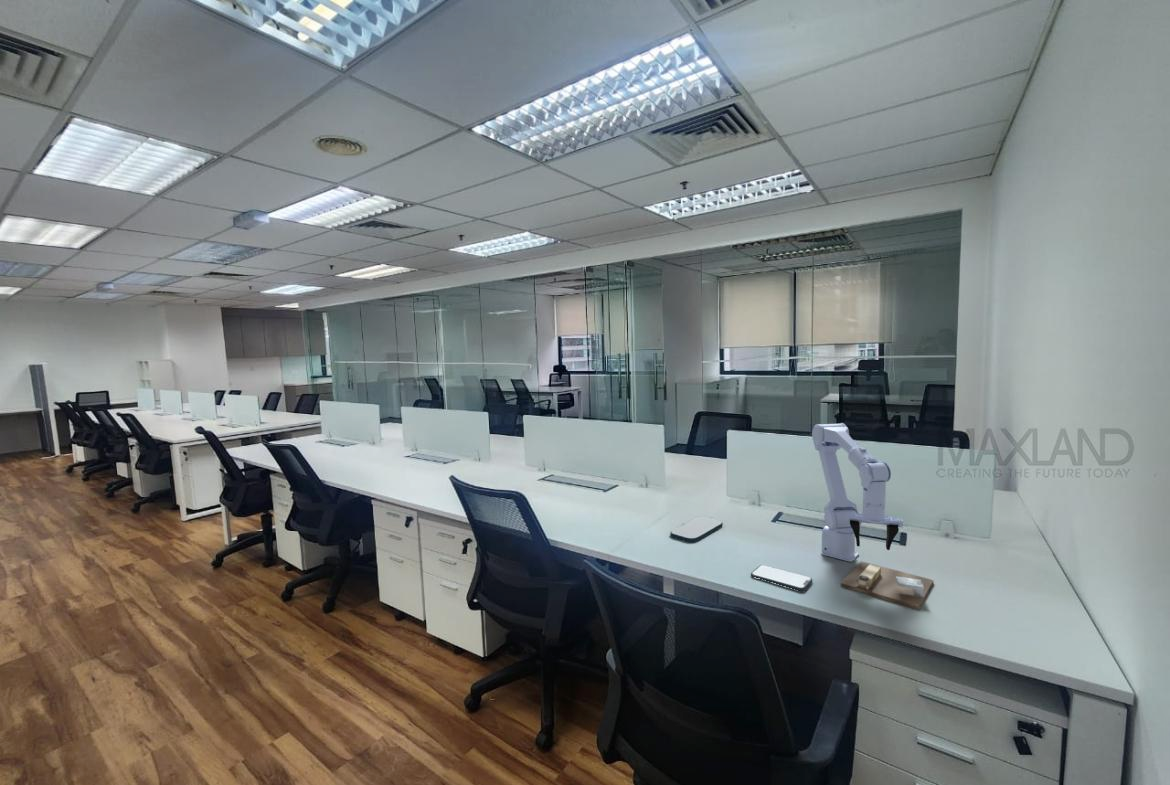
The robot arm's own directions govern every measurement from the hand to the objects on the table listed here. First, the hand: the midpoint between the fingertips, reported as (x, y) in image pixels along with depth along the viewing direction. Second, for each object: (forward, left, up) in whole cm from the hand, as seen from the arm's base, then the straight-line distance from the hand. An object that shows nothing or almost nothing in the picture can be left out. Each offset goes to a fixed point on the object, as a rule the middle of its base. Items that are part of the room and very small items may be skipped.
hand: (872, 546), depth 145 cm
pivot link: (0, -5, -8) cm, 10 cm away
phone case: (-20, -19, -10) cm, 29 cm away
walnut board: (+4, -2, -10) cm, 11 cm away
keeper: (+11, -6, -8) cm, 15 cm away
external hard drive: (-60, -2, -10) cm, 60 cm away
